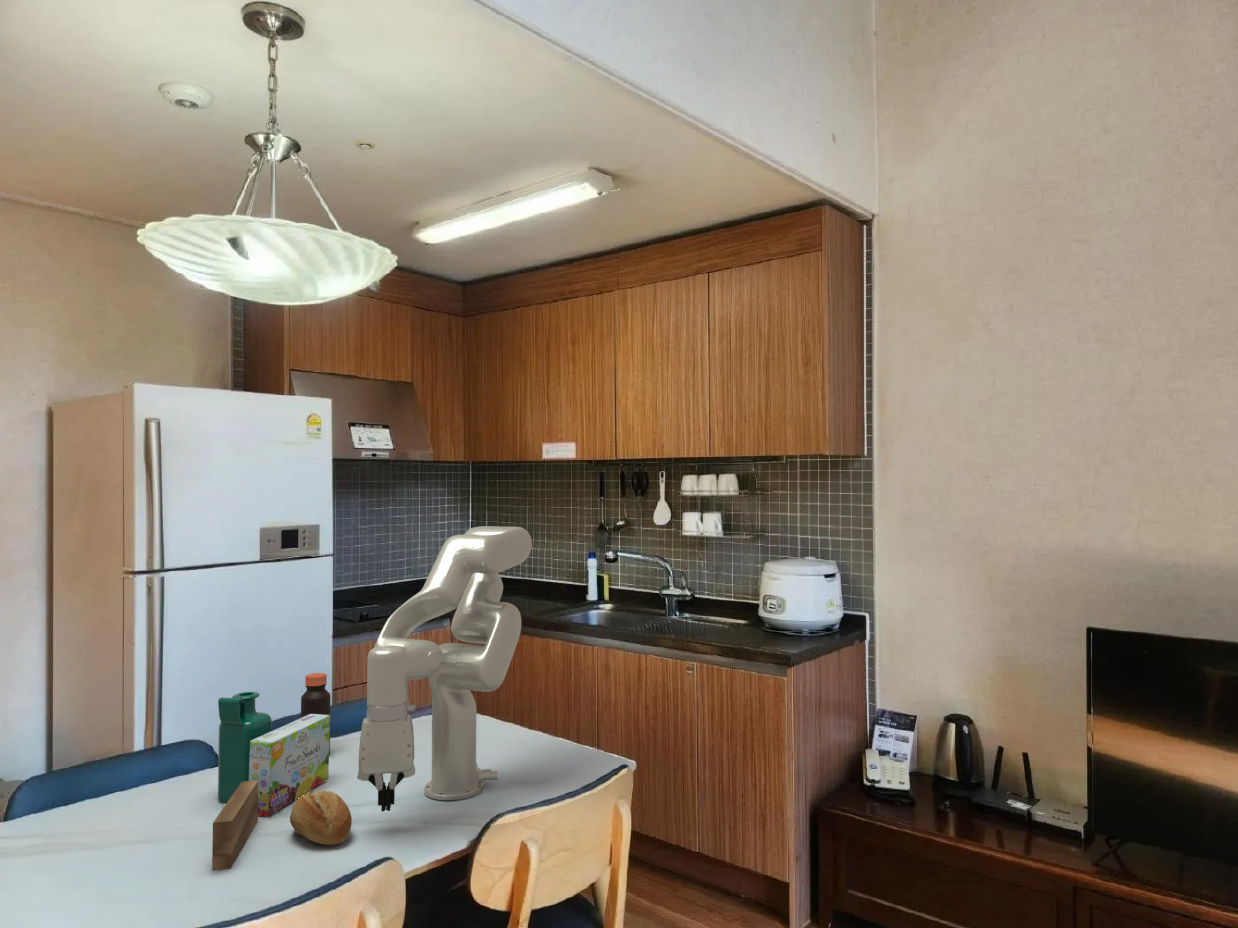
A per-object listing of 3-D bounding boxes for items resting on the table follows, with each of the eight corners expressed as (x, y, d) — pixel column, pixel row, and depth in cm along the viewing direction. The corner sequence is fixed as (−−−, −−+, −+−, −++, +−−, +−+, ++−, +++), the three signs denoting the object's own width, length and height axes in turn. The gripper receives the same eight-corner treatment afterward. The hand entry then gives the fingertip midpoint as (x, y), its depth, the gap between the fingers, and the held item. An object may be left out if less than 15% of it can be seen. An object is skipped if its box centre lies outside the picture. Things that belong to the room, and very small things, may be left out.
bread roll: (313, 857, 140) (314, 812, 140) (277, 833, 150) (278, 790, 150) (363, 840, 147) (364, 797, 147) (325, 818, 157) (326, 777, 157)
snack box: (271, 818, 157) (272, 741, 158) (246, 816, 158) (247, 740, 159) (330, 780, 178) (331, 713, 178) (308, 779, 179) (308, 711, 180)
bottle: (294, 758, 193) (295, 675, 193) (319, 750, 198) (319, 670, 199) (311, 763, 189) (312, 679, 190) (335, 755, 194) (336, 674, 195)
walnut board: (257, 821, 155) (258, 780, 156) (231, 868, 136) (231, 820, 136) (241, 822, 155) (241, 781, 155) (212, 869, 135) (212, 822, 136)
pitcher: (240, 787, 173) (241, 686, 174) (274, 790, 172) (276, 688, 173) (208, 805, 164) (210, 698, 165) (244, 808, 162) (246, 700, 163)
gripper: (427, 704, 157) (426, 797, 156) (348, 708, 154) (347, 804, 153) (426, 714, 150) (426, 812, 149) (344, 719, 147) (342, 819, 146)
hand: (386, 808), depth 151 cm, fingers closed
